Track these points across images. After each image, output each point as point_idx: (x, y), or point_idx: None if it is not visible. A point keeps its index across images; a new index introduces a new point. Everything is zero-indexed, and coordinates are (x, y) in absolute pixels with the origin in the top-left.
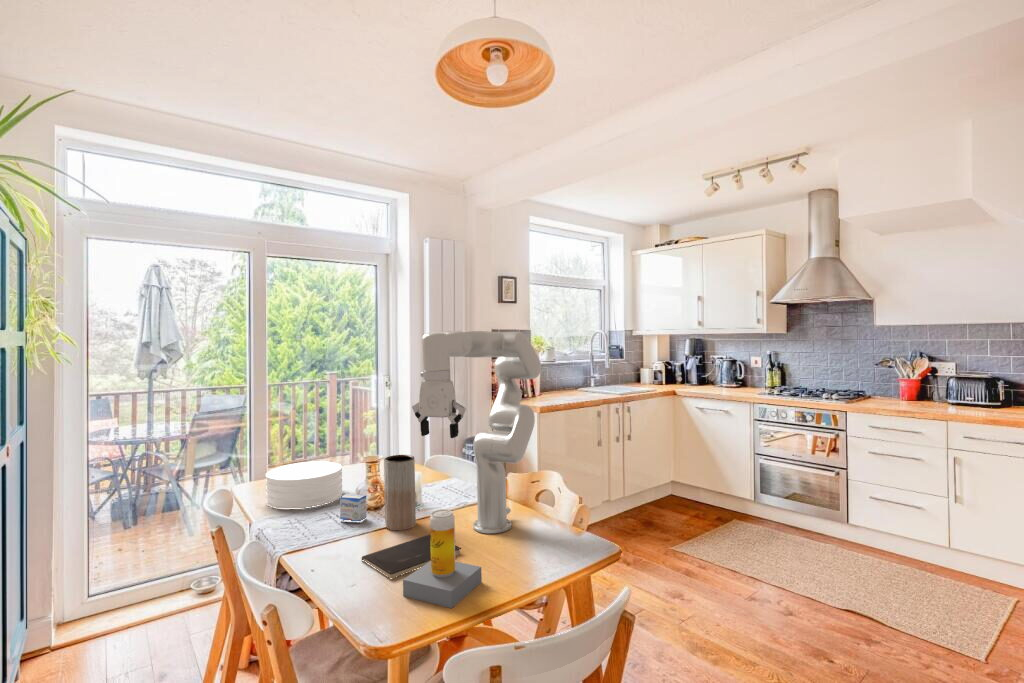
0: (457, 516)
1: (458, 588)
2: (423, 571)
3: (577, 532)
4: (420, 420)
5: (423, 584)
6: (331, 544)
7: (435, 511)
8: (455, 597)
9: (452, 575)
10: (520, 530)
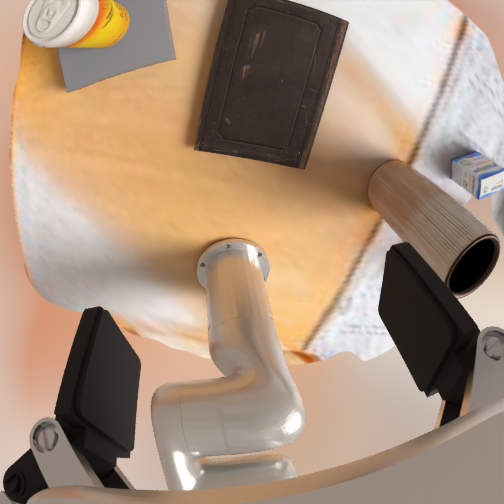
0: (322, 268)
1: None
2: (145, 2)
3: None
4: (490, 344)
5: None
6: (439, 67)
7: (78, 5)
8: None
9: None
10: (180, 282)
